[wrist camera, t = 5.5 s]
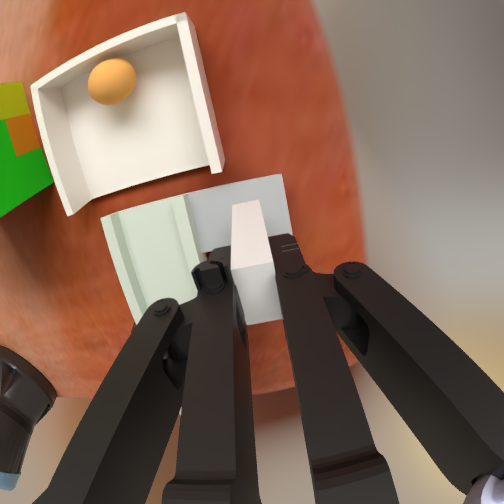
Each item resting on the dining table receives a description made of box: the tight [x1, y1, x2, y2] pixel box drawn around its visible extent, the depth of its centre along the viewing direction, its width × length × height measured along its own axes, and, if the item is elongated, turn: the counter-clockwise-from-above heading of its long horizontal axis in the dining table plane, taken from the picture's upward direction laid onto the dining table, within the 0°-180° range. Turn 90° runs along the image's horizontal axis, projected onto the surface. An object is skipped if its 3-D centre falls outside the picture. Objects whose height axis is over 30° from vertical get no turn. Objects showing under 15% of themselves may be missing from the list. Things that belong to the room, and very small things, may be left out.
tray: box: [30, 12, 225, 216], centre depth 15 cm, size 11×10×4 cm
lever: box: [101, 174, 293, 415], centre depth 20 cm, size 20×12×3 cm, turn 11°
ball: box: [88, 58, 136, 105], centre depth 13 cm, size 3×3×3 cm
